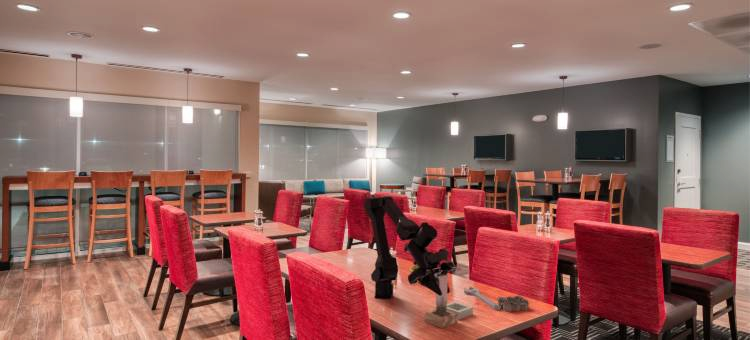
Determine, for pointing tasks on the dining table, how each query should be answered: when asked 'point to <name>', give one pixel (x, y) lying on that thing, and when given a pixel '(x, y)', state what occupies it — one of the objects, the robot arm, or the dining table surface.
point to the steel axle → (442, 300)
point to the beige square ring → (441, 318)
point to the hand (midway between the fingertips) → (445, 293)
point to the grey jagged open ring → (513, 303)
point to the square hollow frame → (460, 309)
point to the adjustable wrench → (481, 297)
